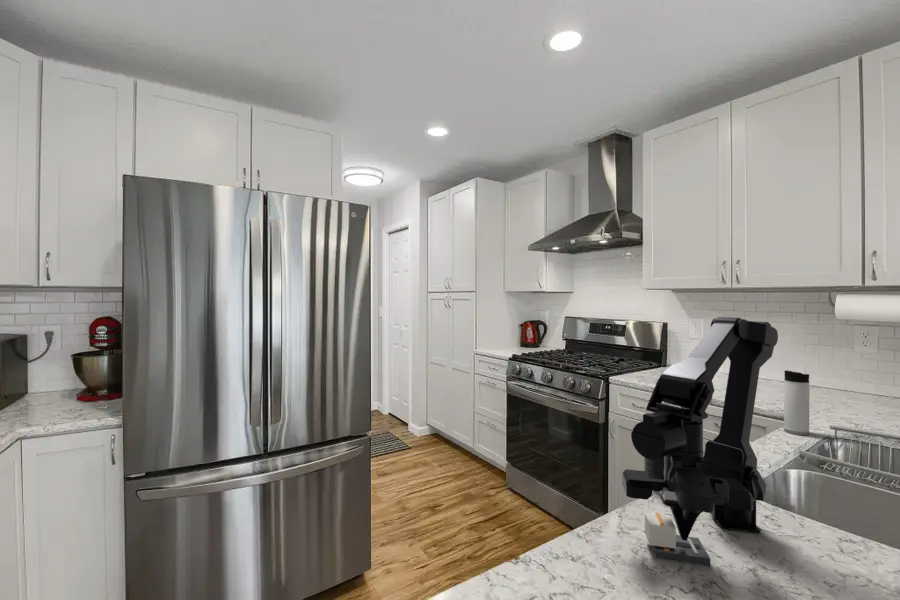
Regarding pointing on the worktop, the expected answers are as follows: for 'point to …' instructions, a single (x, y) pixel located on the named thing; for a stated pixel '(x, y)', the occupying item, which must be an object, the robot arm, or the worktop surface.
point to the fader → (660, 530)
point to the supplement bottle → (654, 468)
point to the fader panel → (684, 551)
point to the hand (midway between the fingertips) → (683, 539)
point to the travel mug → (796, 403)
